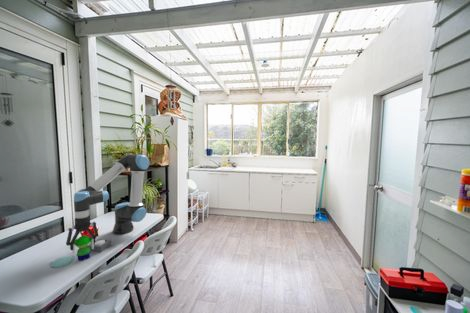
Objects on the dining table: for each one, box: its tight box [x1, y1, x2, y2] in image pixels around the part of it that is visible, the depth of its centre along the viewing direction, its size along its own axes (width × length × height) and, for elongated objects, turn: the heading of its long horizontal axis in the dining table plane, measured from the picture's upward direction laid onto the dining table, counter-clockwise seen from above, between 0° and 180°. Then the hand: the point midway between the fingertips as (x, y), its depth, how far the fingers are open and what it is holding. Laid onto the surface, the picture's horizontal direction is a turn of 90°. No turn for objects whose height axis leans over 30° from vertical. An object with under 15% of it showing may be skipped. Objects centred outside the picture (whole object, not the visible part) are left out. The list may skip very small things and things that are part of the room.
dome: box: [95, 240, 105, 245], centre depth 136 cm, size 6×6×3 cm
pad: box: [50, 255, 76, 269], centre depth 120 cm, size 11×11×1 cm
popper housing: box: [88, 238, 113, 253], centre depth 136 cm, size 10×10×4 cm
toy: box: [74, 235, 92, 262], centre depth 123 cm, size 9×9×15 cm
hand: (83, 251), depth 123 cm, fingers closed on toy, 9 cm apart
